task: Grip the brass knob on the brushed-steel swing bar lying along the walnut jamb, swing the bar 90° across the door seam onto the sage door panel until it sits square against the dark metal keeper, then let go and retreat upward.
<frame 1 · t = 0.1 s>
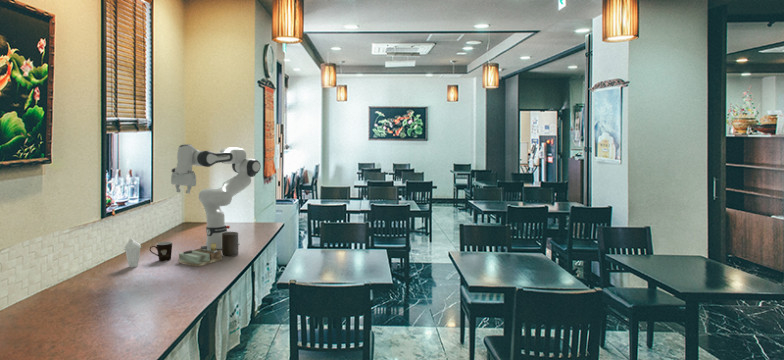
hand: (183, 192, 286), 39 cm above the table, tool pointing down, fingers open, 8 cm apart
pillar candle: (230, 255, 290), on the table
soft serve ice cream cone: (133, 266, 262), on the table
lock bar: (208, 246, 276), point 8 cm above the table, hinge at 90.0°
door board: (200, 261, 274), on the table
coffee mug: (162, 259, 277), on the table
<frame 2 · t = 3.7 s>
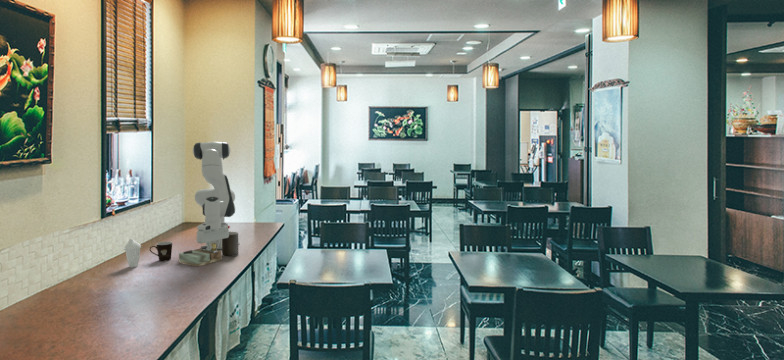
hand: (213, 248, 273), 8 cm above the table, tool pointing down, fingers closed on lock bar, 3 cm apart
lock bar: (208, 246, 276), point 8 cm above the table, hinge at 90.0°, touching gripper
everything else where it was.
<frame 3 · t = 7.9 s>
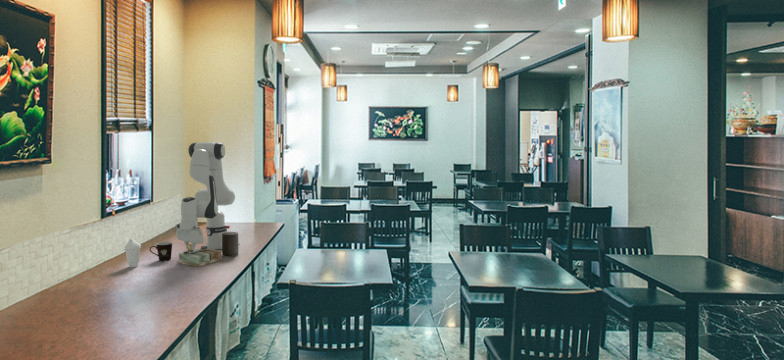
hand: (190, 249, 270), 8 cm above the table, tool pointing down, fingers closed on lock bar, 3 cm apart
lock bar: (197, 247, 274), point 8 cm above the table, hinge at -0.6°, touching gripper
everything else where it was.
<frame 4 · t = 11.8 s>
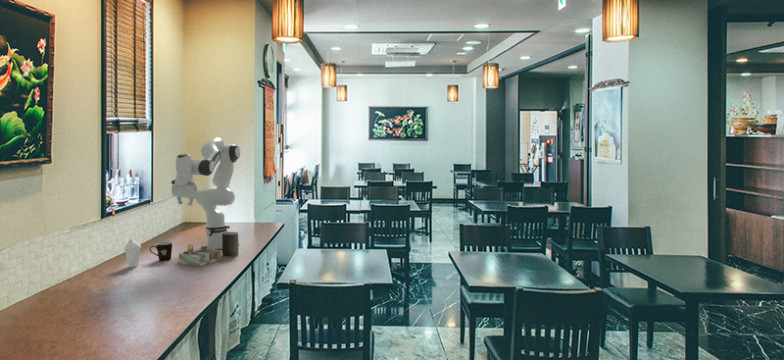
hand: (185, 204, 275), 33 cm above the table, tool pointing down, fingers open, 8 cm apart
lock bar: (197, 247, 274), point 8 cm above the table, hinge at -0.6°
everything else where it was.
at the end: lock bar at -1° (first picture: +90°); the gripper is holding nothing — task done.
